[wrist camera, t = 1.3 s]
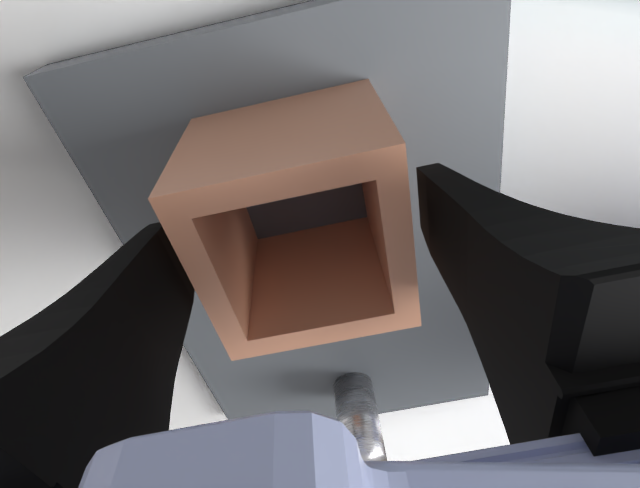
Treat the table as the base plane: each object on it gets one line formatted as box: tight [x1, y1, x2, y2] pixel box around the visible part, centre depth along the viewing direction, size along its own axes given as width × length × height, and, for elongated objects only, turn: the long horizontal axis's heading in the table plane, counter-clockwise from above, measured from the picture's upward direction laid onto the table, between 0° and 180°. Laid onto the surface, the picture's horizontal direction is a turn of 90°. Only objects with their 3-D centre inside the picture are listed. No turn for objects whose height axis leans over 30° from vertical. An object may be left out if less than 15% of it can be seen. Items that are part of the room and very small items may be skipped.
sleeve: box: [148, 79, 421, 361], centre depth 13 cm, size 6×6×5 cm
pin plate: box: [23, 0, 511, 461], centre depth 16 cm, size 14×20×6 cm
